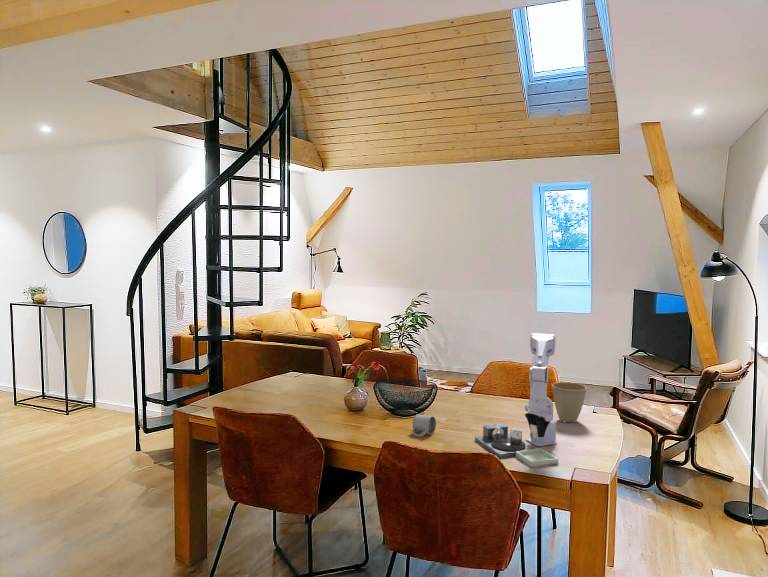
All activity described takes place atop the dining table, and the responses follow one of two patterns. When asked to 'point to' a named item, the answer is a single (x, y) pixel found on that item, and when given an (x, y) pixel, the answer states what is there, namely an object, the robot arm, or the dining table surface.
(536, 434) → the cylinder
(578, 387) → the plant pot
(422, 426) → the ceramic mug
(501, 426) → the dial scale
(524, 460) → the tray
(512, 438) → the spacer
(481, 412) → the dining table surface
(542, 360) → the robot arm
